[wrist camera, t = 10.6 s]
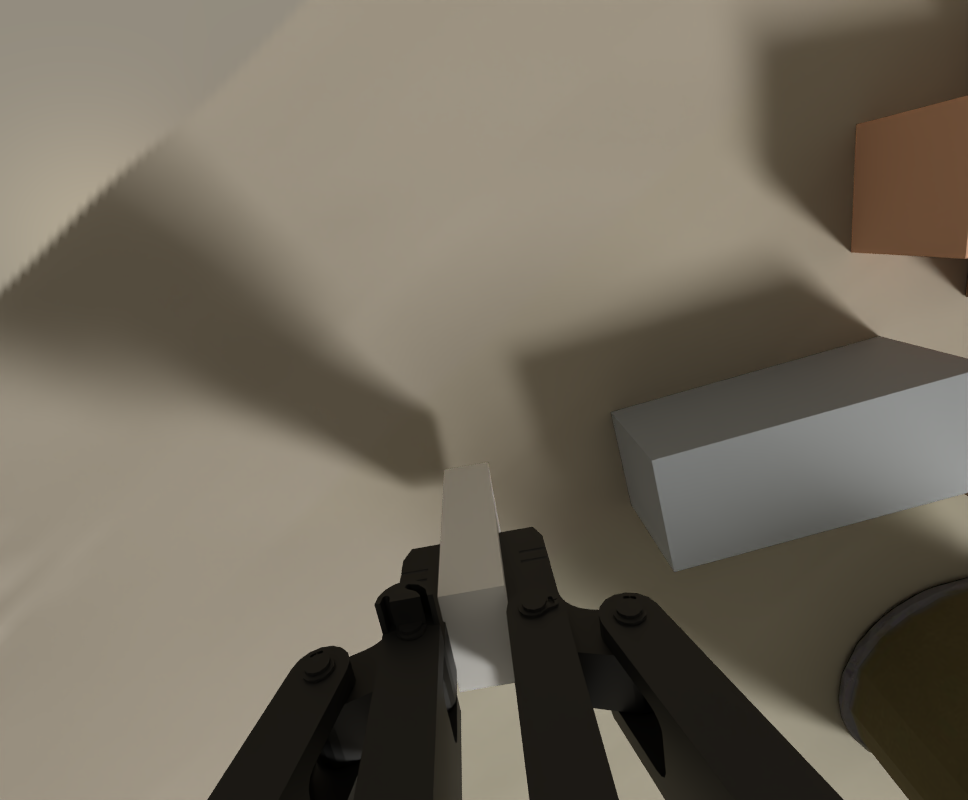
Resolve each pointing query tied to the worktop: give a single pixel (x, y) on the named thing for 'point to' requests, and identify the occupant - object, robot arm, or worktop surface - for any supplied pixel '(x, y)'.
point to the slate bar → (796, 449)
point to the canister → (915, 693)
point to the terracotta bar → (913, 183)
